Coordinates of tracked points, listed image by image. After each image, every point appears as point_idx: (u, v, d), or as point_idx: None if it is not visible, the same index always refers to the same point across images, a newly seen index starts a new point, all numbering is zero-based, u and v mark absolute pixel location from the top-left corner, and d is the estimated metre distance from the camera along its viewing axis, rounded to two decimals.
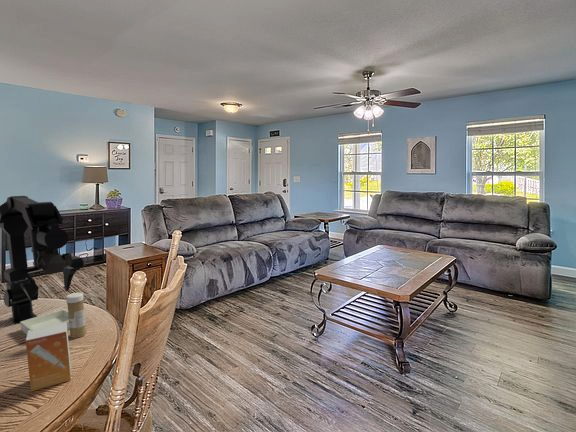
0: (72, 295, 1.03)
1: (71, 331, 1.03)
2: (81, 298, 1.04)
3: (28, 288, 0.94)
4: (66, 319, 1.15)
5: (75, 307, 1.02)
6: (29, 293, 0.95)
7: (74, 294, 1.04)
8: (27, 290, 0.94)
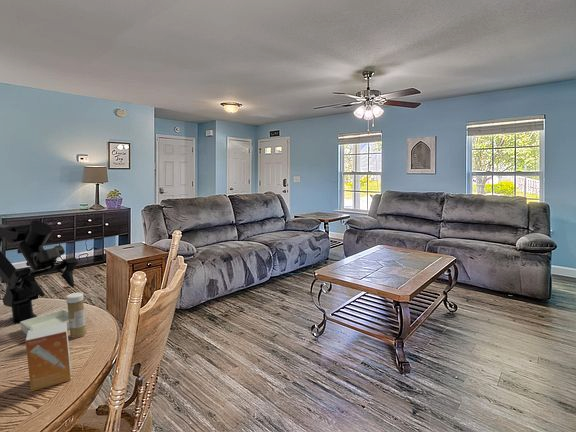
0: (72, 295, 1.03)
1: (71, 331, 1.03)
2: (81, 298, 1.04)
3: (36, 284, 1.03)
4: (66, 319, 1.15)
5: (74, 307, 1.02)
6: (39, 289, 1.03)
7: (74, 294, 1.04)
8: (35, 286, 1.02)
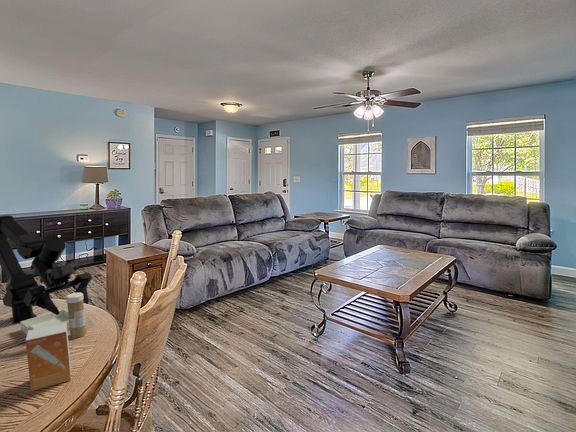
0: (72, 295, 1.03)
1: (71, 331, 1.03)
2: (81, 298, 1.04)
3: (50, 302, 1.01)
4: (66, 319, 1.15)
5: (74, 307, 1.02)
6: (54, 306, 1.01)
7: (74, 294, 1.04)
8: (50, 303, 1.00)
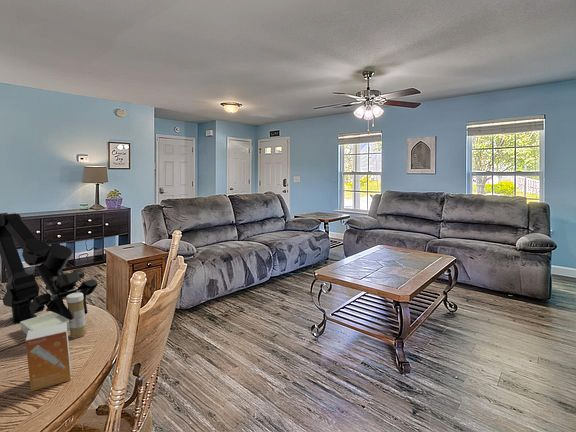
0: (72, 295, 1.03)
1: (71, 331, 1.03)
2: (81, 298, 1.04)
3: (64, 307, 1.02)
4: (66, 319, 1.15)
5: (75, 307, 1.02)
6: (67, 312, 1.02)
7: (74, 294, 1.04)
8: (64, 309, 1.01)
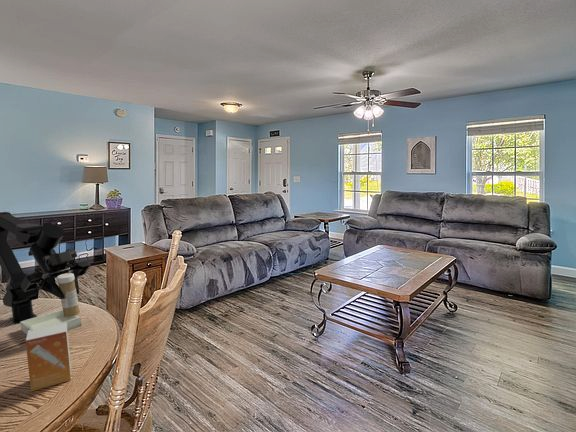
0: (63, 276, 1.03)
1: (64, 311, 1.04)
2: (72, 278, 1.04)
3: (56, 286, 1.02)
4: (66, 319, 1.15)
5: (66, 288, 1.03)
6: (59, 291, 1.02)
7: (65, 274, 1.04)
8: (56, 288, 1.02)
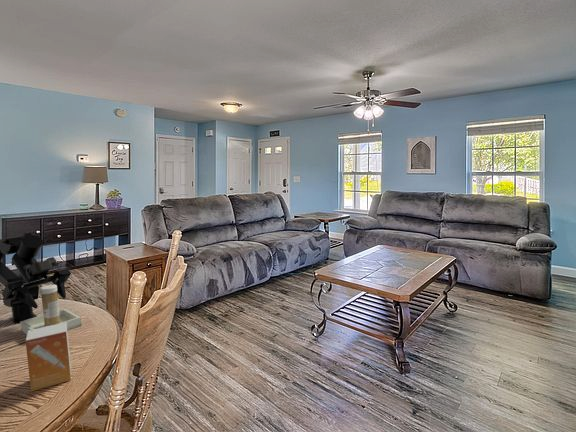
0: (46, 287, 1.09)
1: (45, 321, 1.09)
2: (55, 290, 1.09)
3: (29, 296, 1.05)
4: (66, 319, 1.15)
5: (48, 298, 1.08)
6: (32, 300, 1.05)
7: (48, 286, 1.10)
8: (29, 297, 1.05)
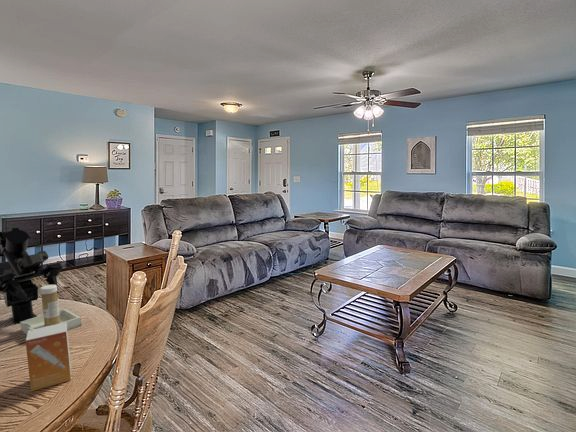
0: (46, 287, 1.09)
1: (45, 321, 1.09)
2: (55, 290, 1.09)
3: (19, 288, 1.06)
4: (66, 319, 1.15)
5: (48, 298, 1.08)
6: (23, 293, 1.06)
7: (48, 286, 1.10)
8: (19, 290, 1.06)
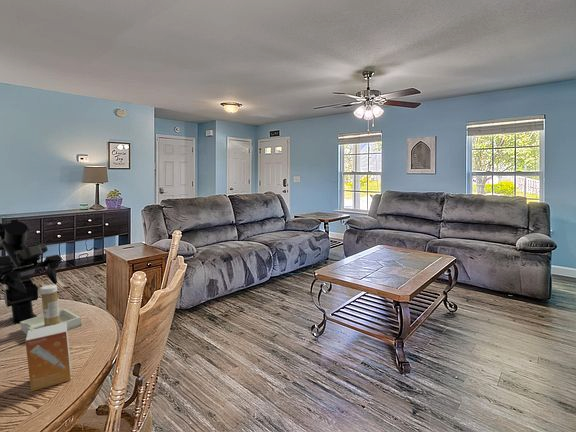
0: (46, 287, 1.09)
1: (45, 321, 1.09)
2: (55, 290, 1.09)
3: (18, 280, 1.06)
4: (66, 319, 1.15)
5: (48, 298, 1.08)
6: (22, 285, 1.06)
7: (48, 286, 1.10)
8: (18, 282, 1.06)
